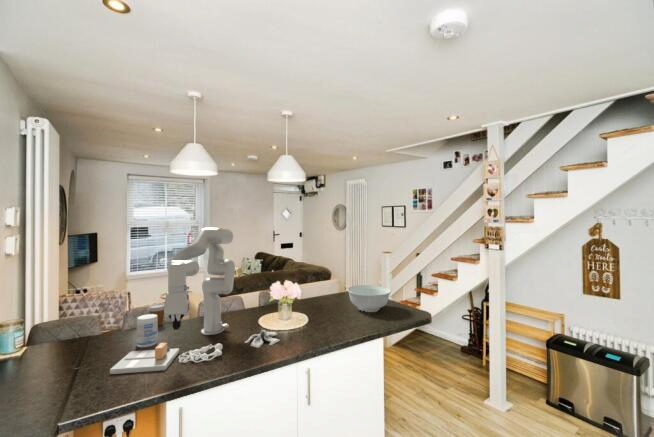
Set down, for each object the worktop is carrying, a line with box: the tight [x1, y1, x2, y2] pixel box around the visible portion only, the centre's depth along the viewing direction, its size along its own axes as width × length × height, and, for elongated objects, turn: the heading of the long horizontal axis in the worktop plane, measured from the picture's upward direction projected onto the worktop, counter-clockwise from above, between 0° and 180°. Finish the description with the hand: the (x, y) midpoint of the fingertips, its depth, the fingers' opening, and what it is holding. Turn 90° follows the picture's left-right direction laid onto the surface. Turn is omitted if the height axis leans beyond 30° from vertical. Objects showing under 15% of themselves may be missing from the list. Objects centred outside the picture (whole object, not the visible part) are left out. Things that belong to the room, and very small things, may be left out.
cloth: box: [244, 329, 280, 349], centre depth 163 cm, size 22×19×6 cm
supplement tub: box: [136, 313, 159, 348], centre depth 158 cm, size 10×10×15 cm
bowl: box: [346, 284, 392, 313], centre depth 220 cm, size 32×32×15 cm
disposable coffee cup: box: [147, 303, 165, 327], centre depth 188 cm, size 10×10×12 cm
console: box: [109, 346, 180, 375], centre depth 138 cm, size 22×18×4 cm
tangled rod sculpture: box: [178, 342, 224, 364], centre depth 143 cm, size 19×14×4 cm
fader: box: [154, 342, 168, 359], centre depth 139 cm, size 3×6×5 cm, turn 9°
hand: (176, 328), depth 140 cm, fingers closed
